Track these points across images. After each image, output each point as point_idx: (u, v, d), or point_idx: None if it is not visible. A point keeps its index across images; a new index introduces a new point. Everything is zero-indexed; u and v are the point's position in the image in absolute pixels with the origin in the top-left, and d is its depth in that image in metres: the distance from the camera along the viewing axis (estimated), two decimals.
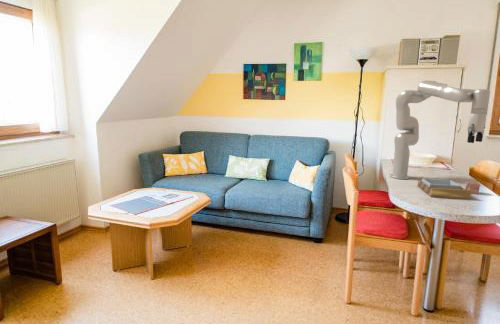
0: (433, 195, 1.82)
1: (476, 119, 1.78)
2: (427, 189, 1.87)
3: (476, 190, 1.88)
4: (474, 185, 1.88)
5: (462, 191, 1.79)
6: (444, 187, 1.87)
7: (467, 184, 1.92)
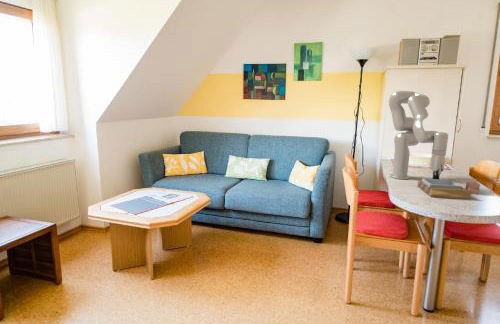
0: (433, 195, 1.82)
1: (443, 160, 1.94)
2: (427, 189, 1.87)
3: (476, 190, 1.88)
4: (474, 185, 1.88)
5: (462, 191, 1.79)
6: (444, 187, 1.87)
7: (467, 184, 1.92)
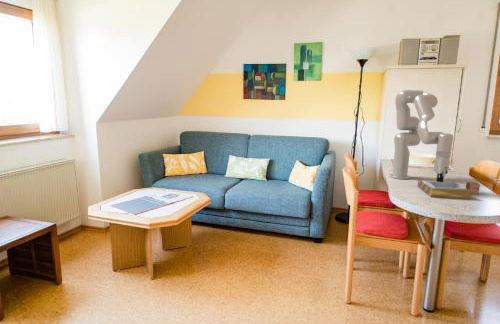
0: (433, 195, 1.82)
1: (448, 162, 1.88)
2: (427, 189, 1.87)
3: (476, 190, 1.88)
4: (474, 185, 1.88)
5: (462, 191, 1.79)
6: None
7: (467, 184, 1.92)
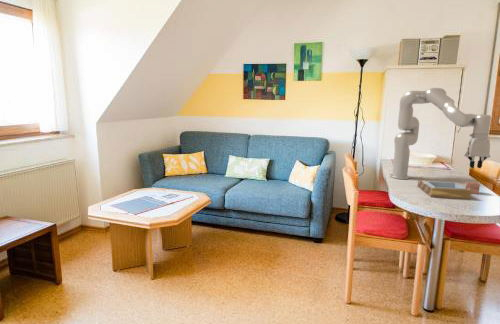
0: (433, 195, 1.82)
1: None
2: (427, 189, 1.87)
3: (476, 190, 1.88)
4: (474, 185, 1.88)
5: (462, 191, 1.79)
6: None
7: (467, 184, 1.92)
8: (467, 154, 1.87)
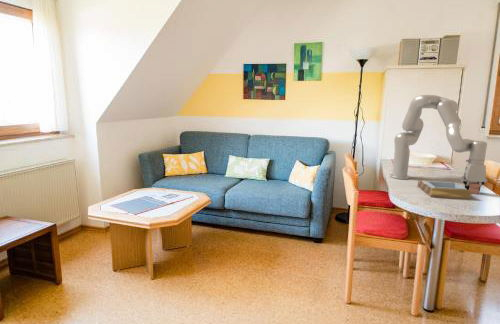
0: (433, 195, 1.82)
1: None
2: (427, 189, 1.87)
3: (476, 189, 1.88)
4: (474, 185, 1.88)
5: (462, 191, 1.79)
6: None
7: None
8: (462, 178, 1.90)
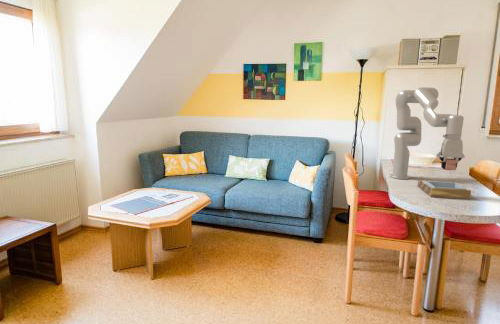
0: (433, 195, 1.82)
1: None
2: (427, 189, 1.87)
3: (453, 166, 1.82)
4: (451, 161, 1.82)
5: (462, 191, 1.79)
6: None
7: None
8: (439, 154, 1.84)
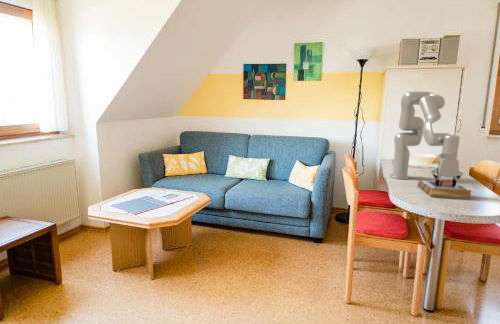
0: (433, 195, 1.82)
1: None
2: (427, 189, 1.87)
3: (448, 187, 1.85)
4: (447, 183, 1.84)
5: (462, 191, 1.79)
6: None
7: (440, 182, 1.88)
8: (434, 172, 1.86)
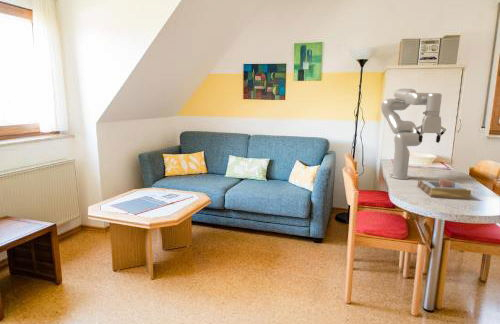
0: (433, 195, 1.82)
1: None
2: (427, 189, 1.87)
3: (448, 187, 1.85)
4: (447, 183, 1.84)
5: (462, 191, 1.79)
6: None
7: (440, 182, 1.88)
8: (418, 128, 1.97)
